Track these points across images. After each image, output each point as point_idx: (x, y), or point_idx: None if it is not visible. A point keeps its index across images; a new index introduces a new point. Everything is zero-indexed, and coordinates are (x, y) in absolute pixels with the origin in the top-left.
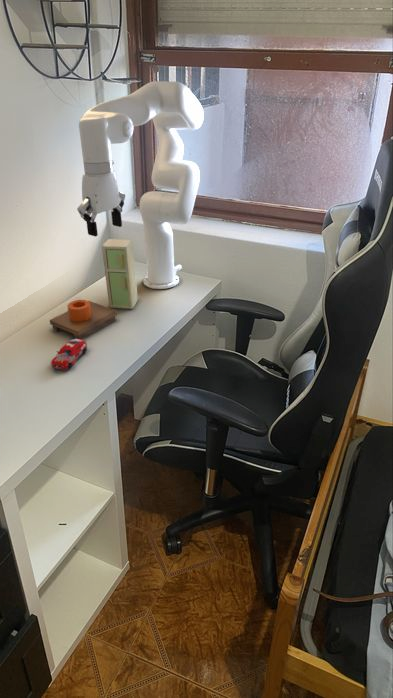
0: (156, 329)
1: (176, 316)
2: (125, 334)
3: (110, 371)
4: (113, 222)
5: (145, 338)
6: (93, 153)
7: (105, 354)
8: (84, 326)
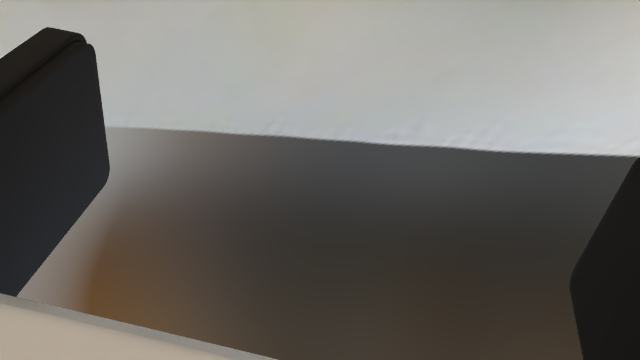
0: (408, 106)
1: (552, 133)
2: (314, 10)
3: None
4: (637, 209)
5: (325, 99)
6: None
7: (150, 22)
8: None
